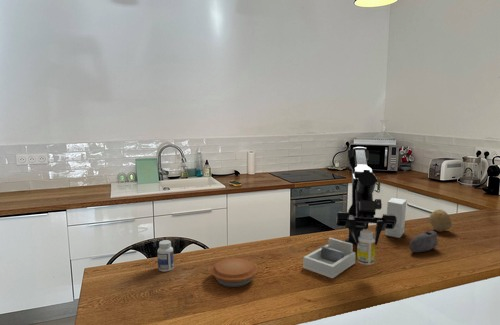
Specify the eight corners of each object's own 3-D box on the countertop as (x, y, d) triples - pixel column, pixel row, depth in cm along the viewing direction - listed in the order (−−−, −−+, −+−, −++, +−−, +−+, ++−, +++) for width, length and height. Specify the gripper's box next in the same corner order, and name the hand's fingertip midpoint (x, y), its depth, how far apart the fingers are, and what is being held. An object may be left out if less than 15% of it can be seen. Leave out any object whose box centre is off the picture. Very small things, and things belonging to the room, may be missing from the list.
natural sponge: (425, 227, 166) (426, 206, 165) (445, 228, 165) (446, 207, 163) (432, 233, 157) (433, 212, 156) (453, 234, 156) (455, 212, 154)
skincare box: (389, 230, 162) (391, 197, 160) (405, 233, 158) (407, 199, 156) (384, 235, 155) (386, 201, 153) (400, 238, 151) (402, 203, 149)
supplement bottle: (371, 258, 118) (372, 228, 116) (377, 265, 112) (378, 234, 111) (354, 258, 118) (355, 229, 116) (359, 265, 113) (360, 235, 111)
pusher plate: (322, 256, 130) (323, 245, 129) (343, 263, 124) (344, 251, 123) (321, 257, 129) (321, 246, 128) (342, 264, 123) (342, 252, 123)
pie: (202, 276, 118) (201, 262, 117) (240, 264, 126) (240, 251, 126) (226, 296, 105) (226, 280, 104) (267, 281, 114) (267, 266, 113)
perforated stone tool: (415, 256, 133) (416, 238, 132) (403, 251, 138) (404, 234, 137) (441, 249, 140) (442, 232, 139) (429, 245, 144) (430, 228, 143)
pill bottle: (168, 263, 127) (167, 238, 126) (176, 268, 123) (175, 242, 122) (155, 268, 123) (154, 242, 122) (163, 273, 120) (162, 246, 118)
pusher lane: (327, 254, 135) (327, 236, 134) (355, 263, 127) (355, 244, 126) (303, 267, 123) (303, 248, 122) (332, 278, 116) (333, 258, 115)
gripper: (337, 188, 117) (338, 231, 108) (397, 190, 113) (402, 235, 105) (336, 204, 126) (336, 245, 117) (391, 207, 122) (395, 250, 113)
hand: (366, 244), depth 113 cm, fingers closed on supplement bottle, 5 cm apart
